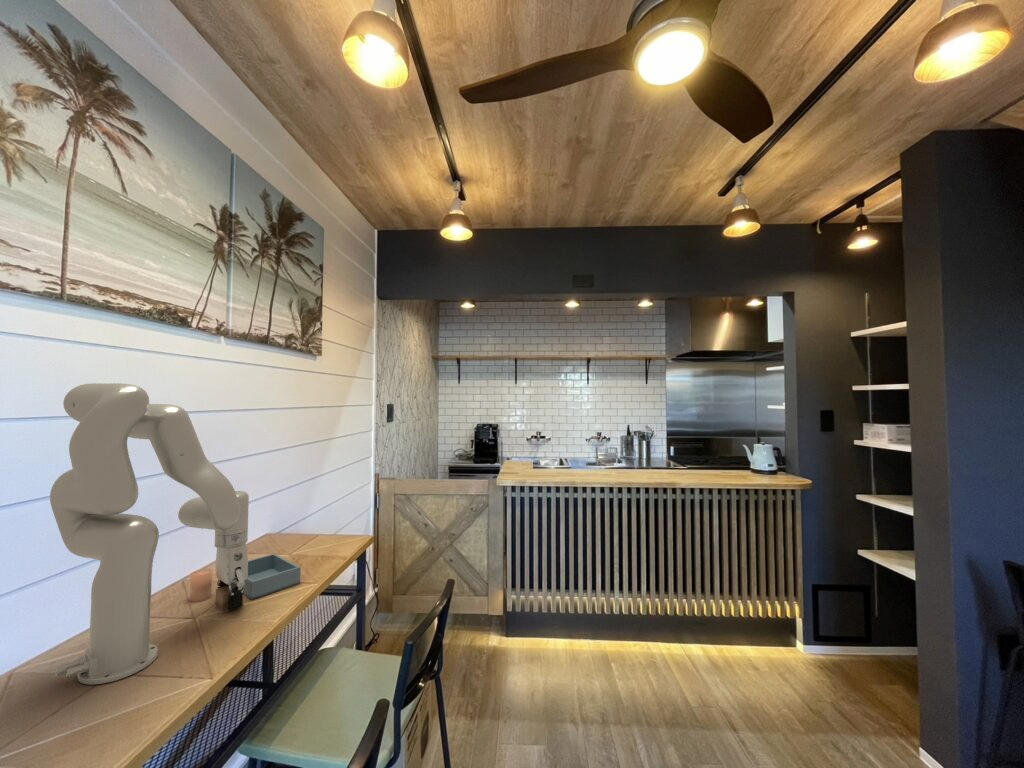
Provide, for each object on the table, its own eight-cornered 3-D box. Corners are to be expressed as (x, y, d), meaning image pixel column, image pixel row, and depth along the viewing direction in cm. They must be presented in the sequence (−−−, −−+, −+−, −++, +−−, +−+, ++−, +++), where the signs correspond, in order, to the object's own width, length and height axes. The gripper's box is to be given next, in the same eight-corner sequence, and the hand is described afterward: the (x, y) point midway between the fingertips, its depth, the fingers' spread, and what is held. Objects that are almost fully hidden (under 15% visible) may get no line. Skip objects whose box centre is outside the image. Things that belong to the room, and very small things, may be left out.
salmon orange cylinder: (193, 603, 117) (193, 577, 117) (187, 598, 120) (188, 572, 120) (214, 596, 121) (215, 571, 121) (208, 591, 124) (208, 567, 124)
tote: (251, 600, 119) (252, 582, 119) (227, 582, 130) (227, 566, 130) (300, 583, 130) (300, 567, 130) (274, 568, 141) (274, 553, 141)
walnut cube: (222, 613, 112) (222, 594, 112) (215, 607, 115) (215, 589, 115) (243, 606, 116) (243, 587, 116) (235, 600, 119) (236, 582, 119)
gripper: (260, 541, 114) (258, 608, 113) (234, 528, 124) (232, 590, 124) (228, 549, 108) (226, 620, 107) (204, 534, 118) (201, 599, 118)
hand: (229, 603), depth 116 cm, fingers open, 6 cm apart
